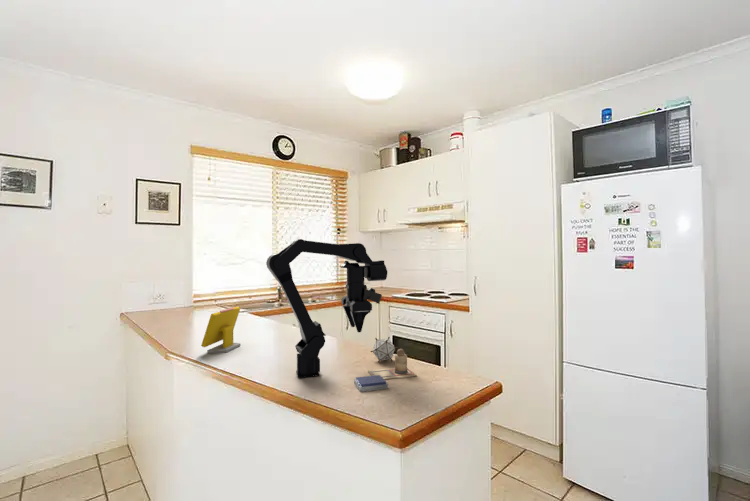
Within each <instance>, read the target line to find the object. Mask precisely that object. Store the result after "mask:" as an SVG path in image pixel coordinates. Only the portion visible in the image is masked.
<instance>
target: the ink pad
mask: <svg viewBox="0 0 750 501" xmlns="http://www.w3.org/2000/svg"><path fill="white" fill-rule="evenodd" d="M353 380H354V386H355V387H356V388H357V390H358V391H359V392H369V391H370V392H371V391H378V390H387V389H389V383H387V381H386V380H384V379H383V378H382V377H381V376H380V375H375V376H371V375H368V376H366V375H365V376H357V377H355V378H354V379H353Z"/></svg>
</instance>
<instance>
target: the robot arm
mask: <svg viewBox="0 0 750 501" xmlns="http://www.w3.org/2000/svg"><path fill="white" fill-rule="evenodd" d="M366 248H367V247H366V246H365V245H364V244H363V243H360V242H356V243H355V242H354V243H343V244H342V243H340V244H338V243H331V242H330V243H329V242H322V241H321V242H320V241H313V240H304V239H302V238H299V239H298V238H297V239H295V240H294V241H293V242H291V243H290V244H289V245H288V246H286V247H284V248H283V249H282V250H281V251H279V253H273V254H271V255H269V256H268V257H267V259H266V262H265V263H266V264H265V265H266V268H267V269H268V271H269V272H270V273H271V274H272V276H273V277H274V279H275V280H276V281H277V283H278V284H279V285H280V288H282V289H281V290H282V291H283V293H284V296H285V298H286V299H287V302H288V304H289V306H290V308H291V310H292V312H293V314H294V317H295V319H296V321H297V323H298V327H299V332H300V336H301V339H300V340H299V341H298V342H297V344H296V345H295V346H294V347H295V350H296V352H297V353H296V371H295V373H296V377H297V378H298V379H300V378H301V379H302V378H313V377H320V373H321V359H320V357H319V355H320V351H321V349H323V347H324V345H325V344H326V338H325V337H326V336H327V335H326V334H325V332H324V331H323V329H322V325H321V323H319V322H318V321H316V320H315V321H313V320H312V318H311V316H310V314H309V312H308V310H307V308H306V307H307V306H306V305H305V304H304V301H303V299H302V297H301V295H300V293H299V290H298V288H297V286H296V284H295V282H294V280H293V274H292V268H291V263H292V262H293V261H294V260H295V259H296V258H297V257H299V256H300V255H301V254H302V253H309V254H319V255H326V256H327V255H328V256H335V257H338V258H341V259H344V262H343V263H342V264H341V265H340V266H339V267H340V268H341V269H346V284H345V289H346V295H344V296H342V297H341V300H340V302H341V303H340V304H341V305H342V308H343V310H344V313H345V315H346V317H347V320H348V322H349V324H350V327H351V328H354V327H355V329H356V331H357V333H362V331H363V326H364V323H365V318H366V316H367V315H368V314H371V313H372V312H371V311H373V304H372V303H371V302H370V301H372V302H374V303H376V304H378V305H379V304H380V302H381V300H382V296H383V294H382V293H379V292H376V288H375V289H374V288H372V287H369V288H368V286H367V284H365V279H366V280H367V281H368V282H377V281H378V282H379V281H380V282H381V281H382V282H383V281H386V280H387V278H388V270H387V265H385V260H372V258H371V257H370V256H369V254H368V253H367V249H366ZM350 261H351V262H350ZM360 264H364V265H360Z"/></svg>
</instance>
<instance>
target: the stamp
mask: <svg viewBox="0 0 750 501" xmlns="http://www.w3.org/2000/svg"><path fill="white" fill-rule="evenodd" d="M394 368H395V373H396V374H406V373H408V369H409V368H408V355H407V354H406V353H405V350H404V349H403V348H397V351H396V354H394ZM407 368H408V369H407Z"/></svg>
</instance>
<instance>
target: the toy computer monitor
mask: <svg viewBox="0 0 750 501" xmlns="http://www.w3.org/2000/svg"><path fill="white" fill-rule="evenodd" d="M240 310H241V307H240V306H235V307H230V308H229V307H228V308H225V309H222V310H219V311H217V312H214V313H211V315H210V317H209V320H208V322H207V327H206V330H205V331H204V332H205V333H204V335H203V338H202V343H201V347H203V348H207V347H209V346H211V345H214V344H215V343H218V342H220V341H222V343H221V344H219V345H216V346H214V347H212V348H209V349H208V350H207V352H206V353H207V354H220V353H221V354H222V353H223V354H224V353H229V352H231V351H234V350H235V349H236V348H239V347H241V343H240V342H234V329H235V326H236V323H237V321H238V317H239V314H240Z"/></svg>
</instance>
